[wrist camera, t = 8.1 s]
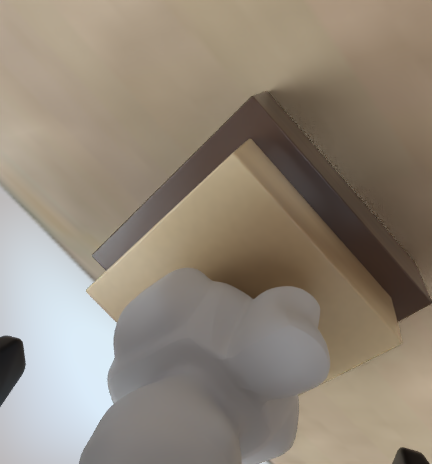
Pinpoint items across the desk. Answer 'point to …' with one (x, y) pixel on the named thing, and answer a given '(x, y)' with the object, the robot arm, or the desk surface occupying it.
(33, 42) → the desk surface
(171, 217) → the memo paper holder
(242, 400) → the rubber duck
